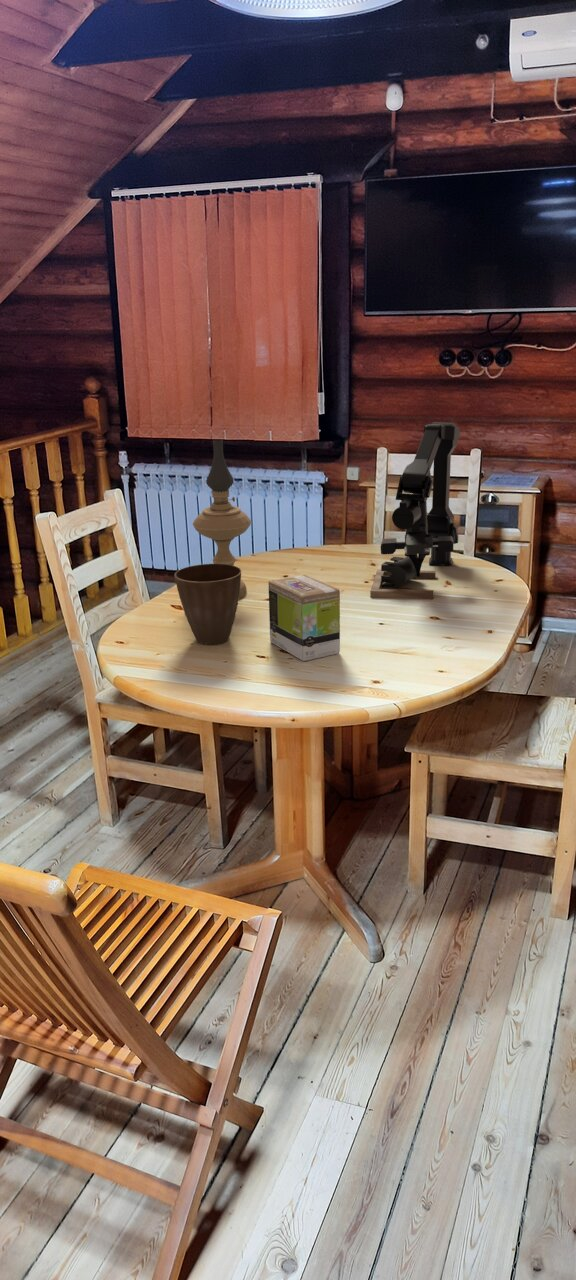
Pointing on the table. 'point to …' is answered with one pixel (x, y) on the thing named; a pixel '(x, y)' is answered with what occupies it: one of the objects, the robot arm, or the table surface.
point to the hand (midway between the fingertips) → (418, 576)
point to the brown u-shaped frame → (397, 593)
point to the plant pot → (209, 599)
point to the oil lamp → (222, 512)
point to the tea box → (304, 617)
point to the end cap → (397, 572)
